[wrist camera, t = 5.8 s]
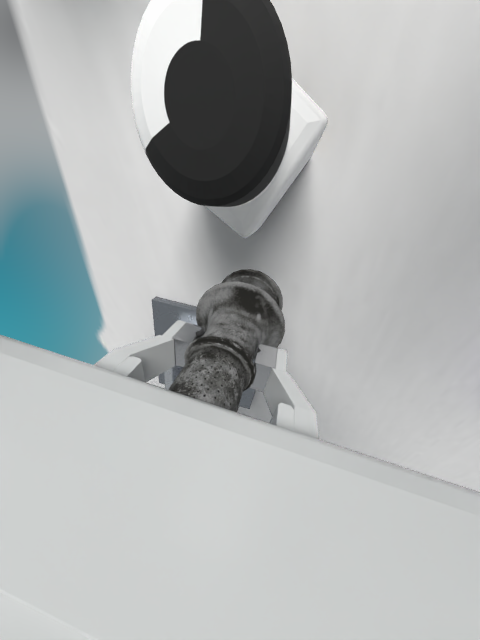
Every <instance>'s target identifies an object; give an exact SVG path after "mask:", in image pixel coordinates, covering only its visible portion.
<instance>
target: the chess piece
mask: <svg viewBox="0 0 480 640" xmlns="http://www.w3.org/2000/svg"><path fill="white" fill-rule="evenodd" d="M281 310H282V295H281V291H280V289H279V287H278V286H277V284H276V283H275V282H274V281H273V280H272V279H271V278H270V277H269V276H268V275H266V274H264V273H262V272H260V271H256V270H251V269H248V270H239V271H236V272H233V273H232V274H230V275H229V276H227V277H226V278H225V279H224V280H223V282H222V283H221V284H218V285H215V286H213V287H212V288H211V289H209V290H208V291H206V292H205V294H204V295H203V296H202V297H201V299H200V300H199V303H198V306H197V309H196V321H197V325H198V326H201V327H204V334H203V336H202V337H200V338H197V339H196V340H194V341H192V342H191V343H190V344H189V346H188V347H187V348H186V351H185V354H184V361H185V366H184V367H183V369H182V370H181V371H180V373H179V374H178V376H177V377H176V379H175V380H174V382H173V383H172V385H171V386H170V388H169V389H168V390H170V391H173V392H176V393H179V394H182V395H185V396H188V397H191V398H194V399H198V400H201V401H204V402H207V403H210V404H213V405H216V406H219V407H222V408H225V409H228V410H231V411H234V412H237V410H238V407H239V403H240V400H241V396H242V392H244V391H245V390H247V389H248V388H250V386H251V385H252V384H253V382H254V379H255V375H256V372H255V366H254V363H253V360H254V359H255V357H256V354H257V350H258V347H259V343H261V344H265V345H268V346H272V347H275V348H277V347H278V345H279V344H280V343H281V341H282V338H283V335H284V332H285V320H284V317H283V314H282V311H281Z"/></svg>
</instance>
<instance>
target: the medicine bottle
mask: <svg viewBox="0 0 480 640" xmlns="http://www.w3.org/2000/svg"><path fill="white" fill-rule="evenodd" d="M131 99H132V107H133V114H134V118H135V123H136V128H137V131H138V134H139V137H140V141H141V143H142V146H143V148H144V150H145V153H146V155H147V157H148V159H149V161H150V163H151V164H152V166H153V168H154V169H155V171H156V172H157V174H158V175H159V176H160V178H161V179H162V180H163V181H164V182H165V184H166V185H168V186H169V187H170V188H171V189H172V190H173V191H174V192H175V193H177V194H178V195H179V196H181V197H182V198H184V199H186V200H188V201H190V202H193V203H196V204H198V205H204V206H206V207H207V208H208V209H209V210H210V211H211V212H213V213H214V214H215V215H216V216H217V217H219V218H220V219H221V220H222V221H223V222H224V223H226V224H227V225H228V226H229V227H230V228H232V229H233V230H234V231H235V232H236V233H237V234H239V235H240V236H241V237H243V238H247V237H249V236H250V235H251V234H253V233H254V232H255V231H257V230H258V229H259V228H260V227H261V226H262V224H263V223H264V222H265V220H266V219H267V217H268V216H269V215H270V213H271V212H272V210H273V209H274V208H275V206H276V205H277V204H278V202H279V201H280V199H281V198H282V197H283V195H284V194H285V192H286V191H287V190H288V188H289V187H290V186H291V184H292V183H293V181H294V180H295V179H296V177H297V176H298V174H299V173H300V172H301V170H302V169H303V168H304V166H305V165H306V163H307V162H308V161H309V159H310V158H311V156H312V154H313V152H314V150H315V148H316V146H317V144H318V142H319V140H320V138H321V136H322V134H323V132H324V130H325V128H326V125H327V121H328V118H327V116H326V114H325V113H324V112H323V111H322V109H321V108H320V107H319V106H318V105H317V104H316V103H315V102H314V101H313V100H312V99H311V98H310V97H309V96H308V94H307V93H306V92H305V91H304V90H303V89H302V88H301V87H300V86H299V85H298V84H297V83H296V82H295V80H294V79H293V78H292V75H291V62H290V56H289V50H288V45H287V41H286V37H285V34H284V31H283V27H282V24H281V22H280V20H279V17H278V15H277V13H276V11H275V8H274V6H273V5H272V3H271V2H270V0H151V1H150V3H149V5H148V6H147V8H146V10H145V12H144V14H143V17H142V20H141V22H140V25H139V28H138V31H137V35H136V39H135V43H134V49H133V56H132V63H131Z"/></svg>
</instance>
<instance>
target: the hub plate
mask: <svg viewBox="0 0 480 640" xmlns="http://www.w3.org/2000/svg"><path fill="white" fill-rule="evenodd" d="M152 307H153V319H154V330H155V336H158V335H163V334H164V333H165V332H166V331H167V330H168V329H169V328H170V327H171V326H172V325H173V324H174V323H175V322H176V321H178V320H181V321H184V322H188V323H191V324H194V325H197V321H196V309H197V307H195V306H191V305H187V304H183V303H179V302H175V301H171V300H167V299H163V298H159V297H155V298H154V299H152ZM254 361H255V359H254V360H253V363H254ZM182 369H183V367H181V366H177V365H175V366H174V367H172V368H170V369H168V370H167V371H165V372H163V373H161V374H160V375H159V383H162V384H165V389H167V390H168V389H169V388H170V386H171V385H172V383H173V382H174V380H175V379H176V377H177V376H178V374H179V373H180V371H181V370H182ZM254 393H255V389H252V388H248V389H247V390H245V391H244V392H242V396H241V400H240V403H239V406H241V407H244V408H248V409H250V405H251V402H252V399H253V396H254Z"/></svg>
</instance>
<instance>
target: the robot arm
mask: <svg viewBox="0 0 480 640" xmlns="http://www.w3.org/2000/svg"><path fill="white" fill-rule="evenodd" d="M203 334H204V327H201V326H198V325H194V324H191V323H188V322H184V321H181V320H178V321H176V322H175V323H174V324H173V325H172V326H171V327H170V328H169V329H168V330H167V331H166V332H165V333H164V334H163V335H158V336H154V337H151V338H148V339H145V340H141V341H138V342H135V343H132V344H129V345H125V346H122V347H119V348H116V349H113V350H112V351H110V352H109V353H108V354H107V355H106V356H104V357H103V358H102V359H100V360H99V361H98V362H97V363H95V364H94V365H91V364H88V363H85V362H82V361H79V360H76V359H73V358H70V357H67V356H63V355H60V354H57V353H54V352H51V351H48V350H45V349H42V348H39V347H36V346H33V345H30V344H27V343H24V342H21V341H18V340H15V339H12V338H8V337H5V336H2V335H0V640H480V492H478V491H475V490H472V489H469V488H466V487H463V486H459V485H456V484H453V483H450V482H447V481H444V480H441V479H438V478H435V477H432V476H429V475H426V474H423V473H420V472H417V471H414V470H411V469H408V468H405V467H402V466H398V465H395V464H392V463H389V462H386V461H383V460H380V459H377V458H374V457H371V456H368V455H365V454H362V453H359V452H356V451H353V450H350V449H347V448H344V447H341V446H338V445H334V444H331V443H328V442H325V441H322V440H319V433H318V423H317V414H316V412H315V410H314V409H313V407H312V406H311V404H310V403H309V401H308V400H307V399H306V397H305V396H304V394H303V393H302V391H301V390H300V388H299V387H298V385H297V384H296V382H295V381H294V379H293V378H292V376H291V375H290V373H287V372H286V371H287V350H284V349H280V348H275V347H272V346H268V345H265V344H261V343H259V347H258V350H257V354H256V357H255V361H254V366H255V372H256V375H255V379H254V382H253V384H252V385H251V386H250V388H252V389H255V390H258V391H261V392H263V394H264V396H265V399H266V402H267V404H268V407H269V409H270V412H271V414H272V419H271V421H270V423H268V422H265V421H261V420H258V419H255V418H252V417H249V416H246V415H243V414H240V413H237V412H234V411H231V410H228V409H225V408H222V407H219V406H216V405H213V404H210V403H207V402H204V401H201V400H198V399H194V398H191V397H188V396H185V395H182V394H179V393H176V392H173V391H170V390H167V389H164V388H161V387H158V386H155V385H152V384H149V383H146V382H147V381H149V380H151V379H153V378H154V377H156V376H158V375H160V374H161V373H163V372H165V371H167V370H168V369H170V368H172V367H174V366H175V365H177V366H181V367H184V366H185V361H184V354H185V351H186V348H187V347H188V346H189V344H190V343H191V342H192V341H194V340H196V339H197V338H200V337H202V336H203Z"/></svg>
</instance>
